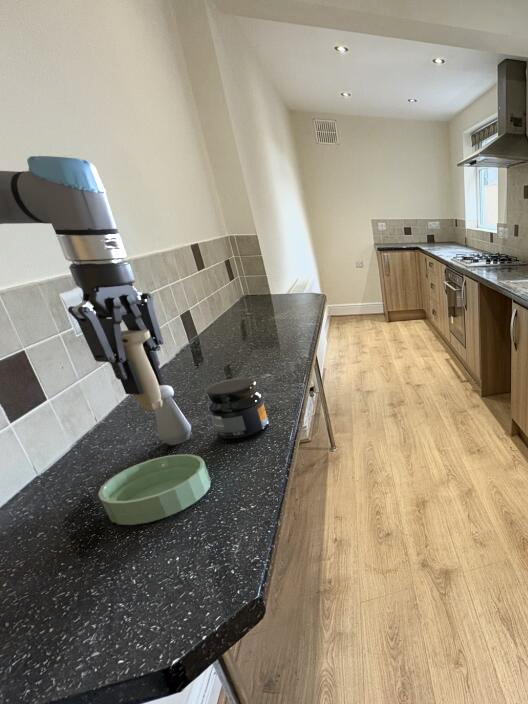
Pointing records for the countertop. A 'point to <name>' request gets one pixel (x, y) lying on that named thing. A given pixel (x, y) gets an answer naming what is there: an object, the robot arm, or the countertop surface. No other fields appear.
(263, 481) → the countertop surface
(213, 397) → the supplement container
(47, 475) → the countertop surface
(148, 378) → the handle
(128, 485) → the bowl
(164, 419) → the salt shaker
